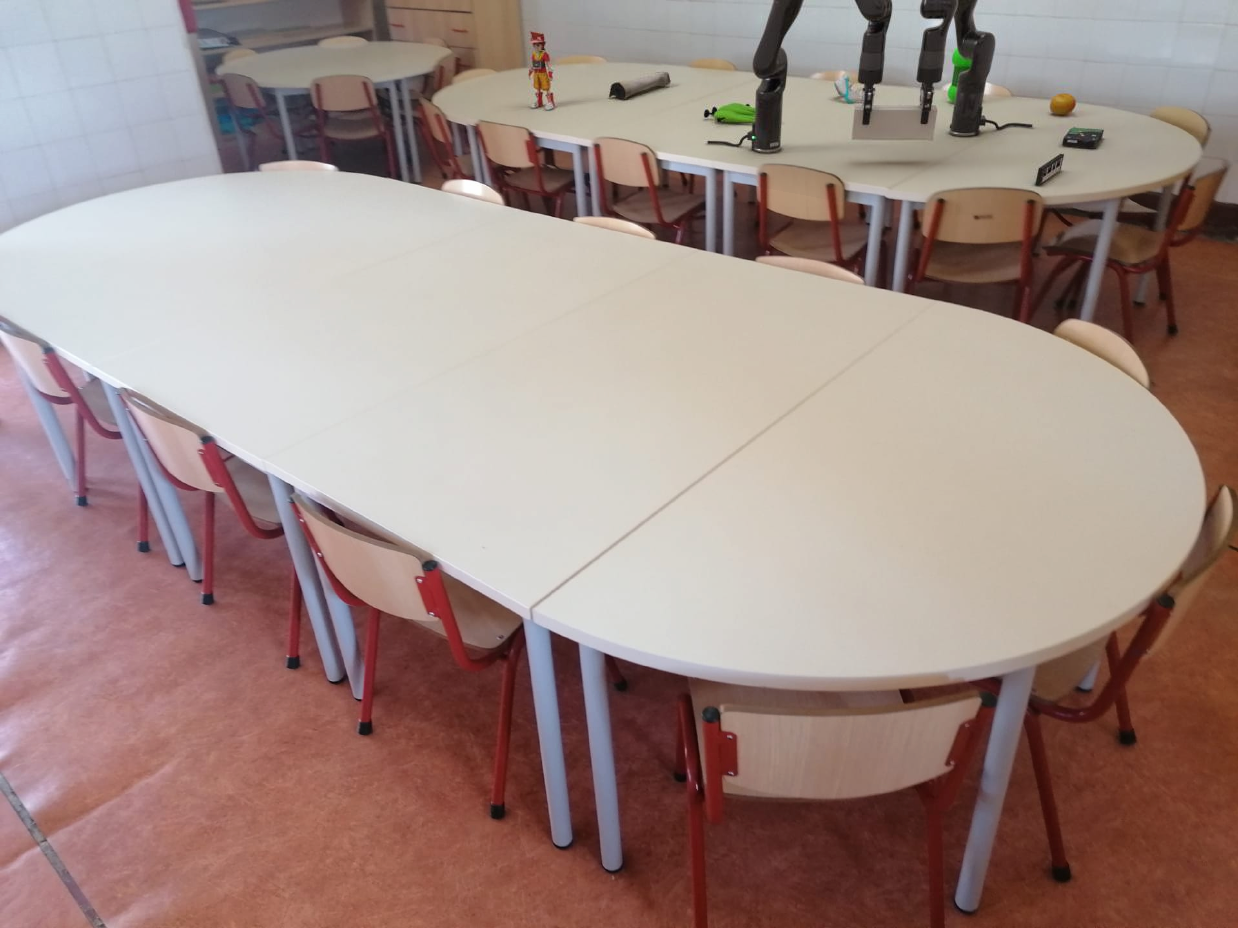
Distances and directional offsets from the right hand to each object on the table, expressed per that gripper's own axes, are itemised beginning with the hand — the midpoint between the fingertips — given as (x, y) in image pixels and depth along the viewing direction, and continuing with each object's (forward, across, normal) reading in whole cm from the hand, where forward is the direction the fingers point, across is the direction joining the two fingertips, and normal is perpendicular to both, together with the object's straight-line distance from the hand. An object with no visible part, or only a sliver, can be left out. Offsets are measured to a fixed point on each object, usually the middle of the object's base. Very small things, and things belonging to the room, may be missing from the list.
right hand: (923, 121), depth 286 cm
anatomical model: (+13, +86, +22) cm, 90 cm away
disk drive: (+13, +24, -55) cm, 62 cm away
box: (+5, 0, +9) cm, 10 cm away
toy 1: (+13, +75, +149) cm, 168 cm away
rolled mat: (+13, +102, +111) cm, 152 cm away
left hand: (0, 0, +18) cm, 18 cm away
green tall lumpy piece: (+13, +80, -21) cm, 84 cm away
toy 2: (+13, +54, +61) cm, 83 cm away
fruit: (+13, +61, -55) cm, 83 cm away
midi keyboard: (+13, -15, -38) cm, 42 cm away
